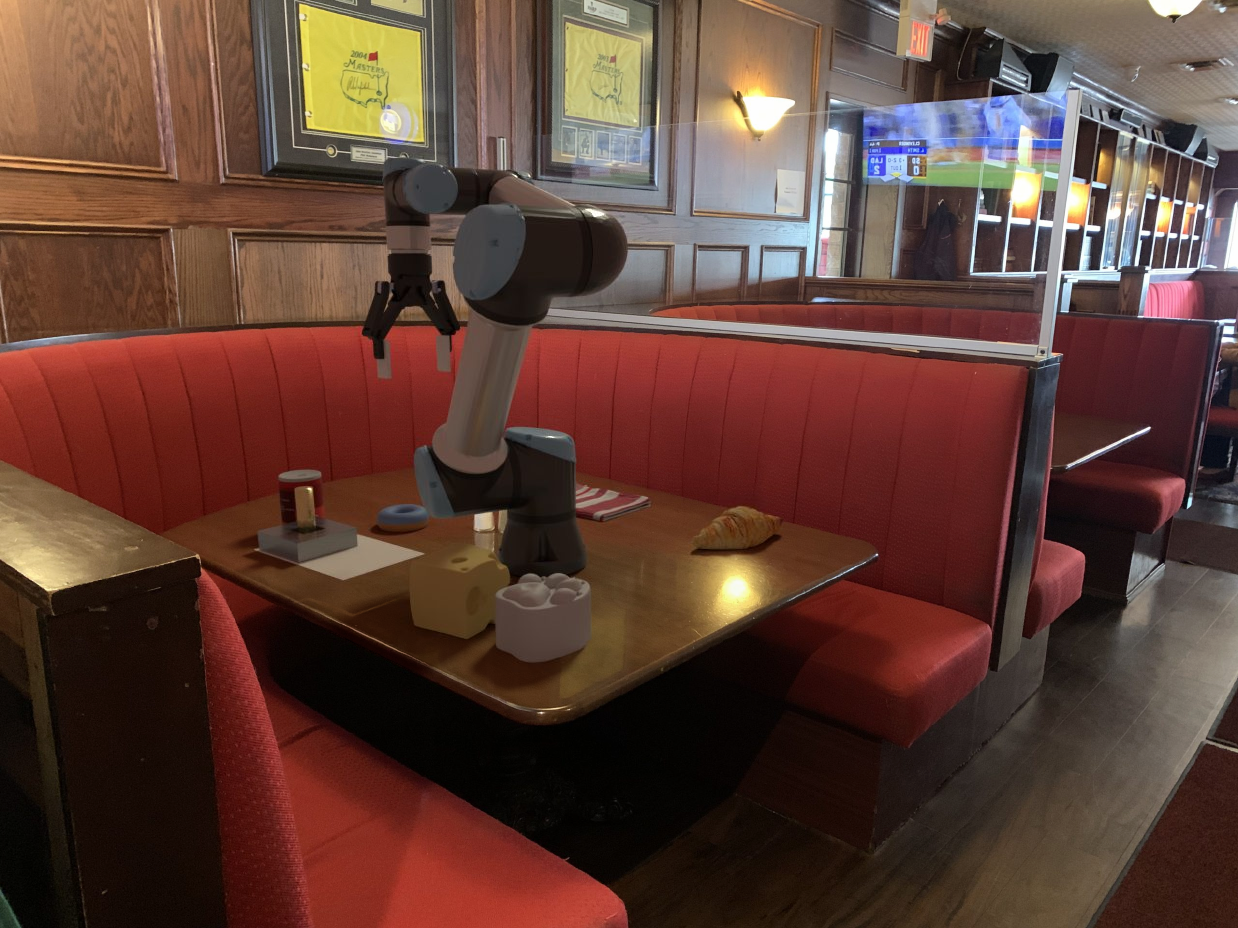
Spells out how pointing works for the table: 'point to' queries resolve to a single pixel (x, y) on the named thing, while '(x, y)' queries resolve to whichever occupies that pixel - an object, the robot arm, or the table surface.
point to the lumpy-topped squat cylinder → (543, 617)
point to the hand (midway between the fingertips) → (415, 374)
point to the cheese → (456, 589)
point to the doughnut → (403, 518)
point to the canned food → (287, 492)
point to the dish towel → (606, 503)
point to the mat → (357, 558)
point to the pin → (305, 509)
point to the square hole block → (307, 540)
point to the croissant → (737, 529)
